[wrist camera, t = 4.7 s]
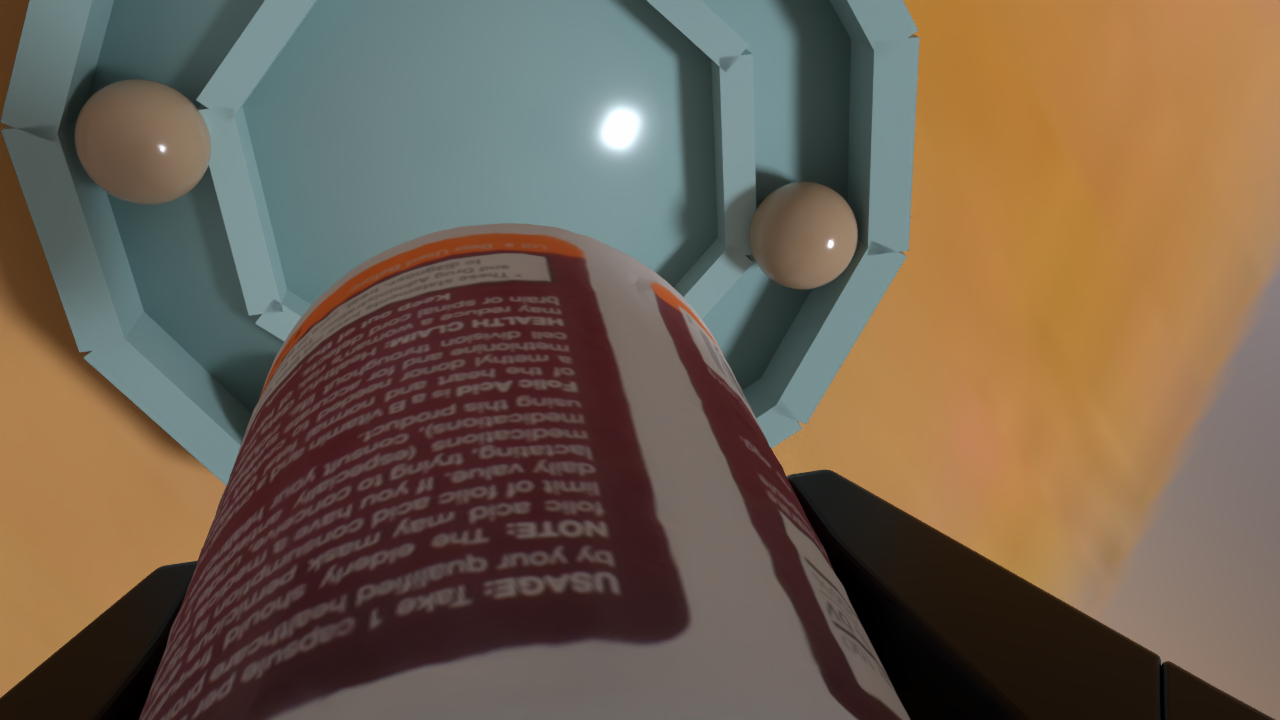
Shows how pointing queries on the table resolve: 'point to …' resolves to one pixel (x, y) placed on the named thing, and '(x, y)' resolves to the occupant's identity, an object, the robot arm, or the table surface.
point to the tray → (457, 169)
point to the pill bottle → (511, 513)
